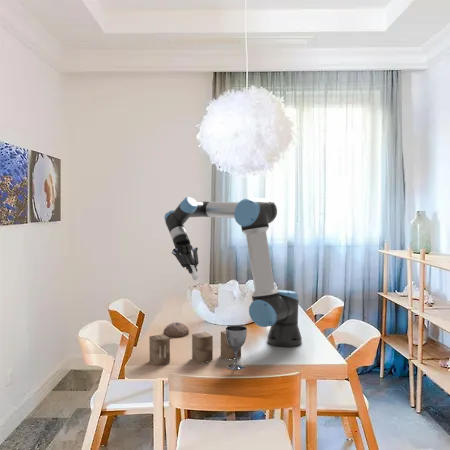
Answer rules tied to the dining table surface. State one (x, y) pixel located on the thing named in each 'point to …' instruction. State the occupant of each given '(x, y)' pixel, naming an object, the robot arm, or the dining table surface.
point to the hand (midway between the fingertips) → (195, 278)
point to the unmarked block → (202, 347)
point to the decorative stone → (176, 330)
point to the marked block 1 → (159, 349)
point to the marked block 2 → (227, 348)
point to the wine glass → (236, 342)
